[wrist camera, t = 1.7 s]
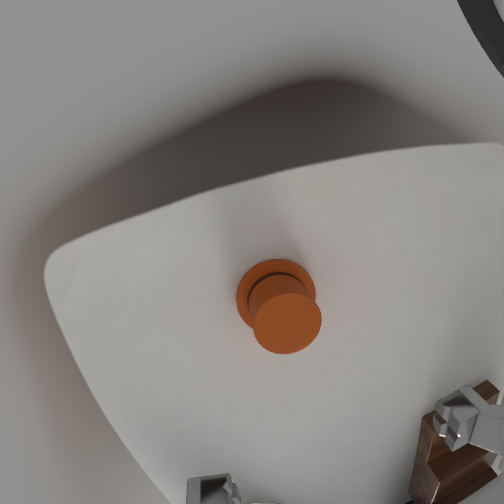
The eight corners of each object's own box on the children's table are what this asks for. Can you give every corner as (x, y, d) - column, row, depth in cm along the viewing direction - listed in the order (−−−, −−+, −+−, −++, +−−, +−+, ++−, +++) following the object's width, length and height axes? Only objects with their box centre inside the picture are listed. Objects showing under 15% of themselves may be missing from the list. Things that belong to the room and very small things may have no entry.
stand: (422, 416, 30) (466, 476, 20) (487, 379, 31) (535, 424, 20) (408, 492, 36) (432, 537, 25) (461, 463, 36) (490, 502, 25)
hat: (253, 247, 23) (261, 267, 19) (325, 273, 24) (348, 295, 20) (225, 319, 24) (227, 351, 20) (295, 339, 25) (310, 371, 21)
